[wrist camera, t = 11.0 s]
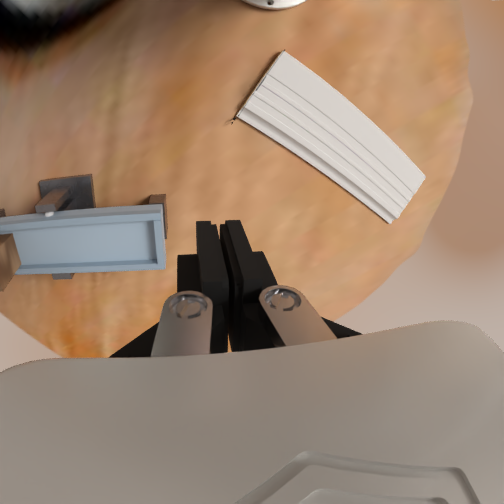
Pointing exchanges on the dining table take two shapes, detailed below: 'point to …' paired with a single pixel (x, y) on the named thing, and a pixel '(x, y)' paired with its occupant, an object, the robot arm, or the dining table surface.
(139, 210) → the beam
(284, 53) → the baseboard molding
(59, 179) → the stand
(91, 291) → the dining table surface
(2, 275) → the rider
